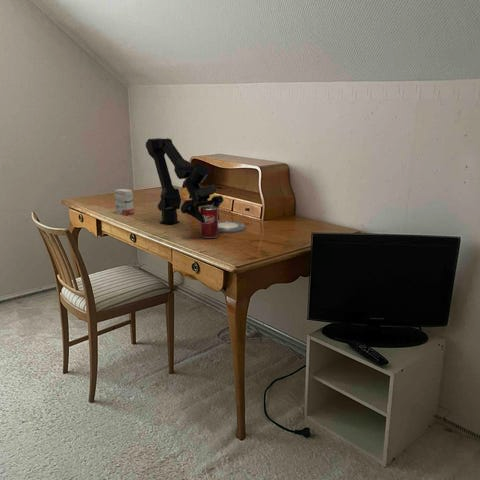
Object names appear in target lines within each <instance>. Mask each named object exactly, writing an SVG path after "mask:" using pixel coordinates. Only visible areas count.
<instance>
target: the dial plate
mask: <svg viewBox="0 0 480 480" xmlns="http://www.w3.org/2000/svg"><path fill="white" fill-rule="evenodd" d="M245 230H246V224H244V223H242V222H238V221H229V220H228V221H227V220H224V221H218V233H222V234H223V233H224V234H232V233H240V232H243V231H245Z"/></svg>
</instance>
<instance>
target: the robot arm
mask: <svg viewBox="0 0 480 480" xmlns="http://www.w3.org/2000/svg"><path fill="white" fill-rule="evenodd" d="M145 148H146V150H147V153H148V155H149V156H150V157H151V158H153V161H154V164H155V167H156V168H155V169H156V173H157V176H158V179H159V182H160V186H161V193H160V201H159V202H158V204H157V208H158V210H159V211H160V212H161V221H159V224H162V225H163V224H164V225H168V226H171V225H174V224H178V223H180V221H179V220H178V213H177V211H178V210H180V212H181V214H184V215H185V214H187V215H188V216H189V215H190V217H193V218H195V219H196V220H197V221H199V223H200V222H202V223H204V219H203V217H202V215H201V213H200V208H201V207H203V206H215V207H217V208H218V209H219V207H220V206H221V205H222V203H223V202H225V200H224V198H223V196H222V195H215V196H214V194H215V193H216V192H217V188H216V186H215V185H214V184H209V185H208V186H204V187H202V186H201V184H202V183H203V181H204V180H205V179H206V178H207V176H208V174H209V171H210V170H209V169H208V168H207V166H205V165H203V164H202V163H201V162H195V164H194V165H193V164H192V163H191V162H190V161H188V160H186V159H184V157H183V156H182V155H181V153H180V152H179V150H178V149H177V148H176V146H175V145H174V144H173V140H172V139H171V138H169V137H167V138H162V137H160V138H159V137H158V138H148V139H147V141H146V142H145ZM165 156H167V157H168V159H169V161H170V162H171V163H172V165H173V166H174V170H173V171H174V173H175V175H176V177H177V179H179V180H183V182H182V187H181V188H182V189H185V188H186V190H187V192H188V194H189V196H188V198H189V199H188V200H184V201H183V203H182V198H181V194H180V191H179V190H180V189H178V188H175V187H174V185H173V182H172V178H171V174H170V172H169V167H168V164H167V160H166V157H165ZM211 196H212V197H211ZM210 198H211V199H210ZM181 203H182V205H181ZM199 207H200V208H199ZM219 212H220V211H219V210H218V221H219V220H220V213H219Z"/></svg>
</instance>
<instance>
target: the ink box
mask: <svg viewBox="0 0 480 480" xmlns="http://www.w3.org/2000/svg"><path fill="white" fill-rule="evenodd" d="M114 203H115V205H114V206H115V207H114V208H115V214H118V215H123V216H130V215H134V214H135V207H134V206H135V205H134V192H133V190H131V189H125V188H120V189H119V188H117V189H114Z"/></svg>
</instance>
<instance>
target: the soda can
mask: <svg viewBox="0 0 480 480" xmlns="http://www.w3.org/2000/svg"><path fill="white" fill-rule="evenodd" d="M199 211H200V213H201V215H202V217H203V219H204V223H202V222H200V221H199V224H200V225H199V227H200V230H199V231H200V232H199V235H200V236H201V237H202V238H204V239H215V238H217V237H218V235H219V232H218V222H219V220H218V211H219V207H218V208H217V207H215V206H209V205H207V206H201V207H200V208H199Z"/></svg>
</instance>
